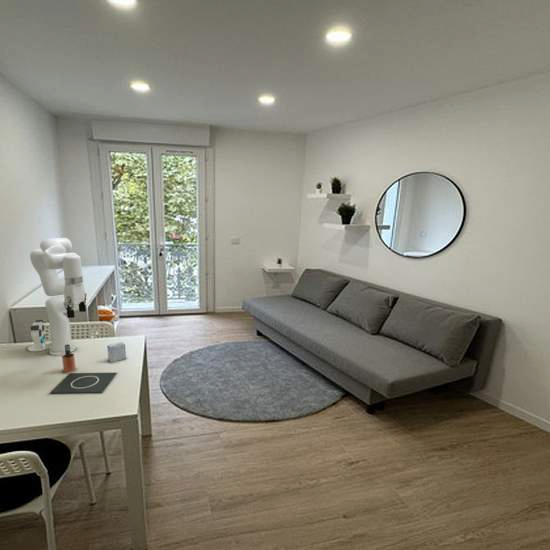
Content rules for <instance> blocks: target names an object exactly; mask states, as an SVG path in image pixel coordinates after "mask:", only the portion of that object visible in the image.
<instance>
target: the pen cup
mask: <svg viewBox="0 0 550 550" xmlns="http://www.w3.org/2000/svg"><path fill="white" fill-rule="evenodd" d="M61 359H62V360H61V361H62V369H63V372H64V373H72V372H75V370H76V359H75V354H74V353H71V357H68V358H66V355H65V354H62V356H61Z"/></svg>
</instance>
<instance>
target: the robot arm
mask: <svg viewBox="0 0 550 550" xmlns="http://www.w3.org/2000/svg"><path fill="white" fill-rule="evenodd" d="M72 251H73V244H72V241H71V240H70V239H69V238H67V237H51V238H50V237H49V238H45V239H43V240H42V241H41V242H40V244H39V248H36V249H33V250H32V251H31V252H30V254H29V258H30V263H31V265H32V268H33V269H34V270H35V271H36V273H37V274H38V276H39V280H40V282H41V285H42V289H43V292H44V293H45V295H46V296H47V297H50V298H48V299H46V301H45V303H44V304H45V310H46V313H47V316H48V323H49V331H50V341H51V343H50V344H45V348H48V349H49V350H48V353H49V355H52V356H61V355H62V356H63V355H65V345H68V344H69V345H70V353H71V354H72V353H73V352H74V351H75V350H76V346H75V345H73V343H72V342H73V341H72V333H71V322H70V319H74V318H75V311H76V312H77V311H79V312H81V313H85V312H87V306H86V303H87V295H88V294H87V293H86V292H85V286H84V280H83V279H84V278H83V267H82V258H81V256H80V255H78V253H76V252H72ZM57 270H63V276H64V277H59V275H58V272H57ZM65 313H66V315H65Z"/></svg>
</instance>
